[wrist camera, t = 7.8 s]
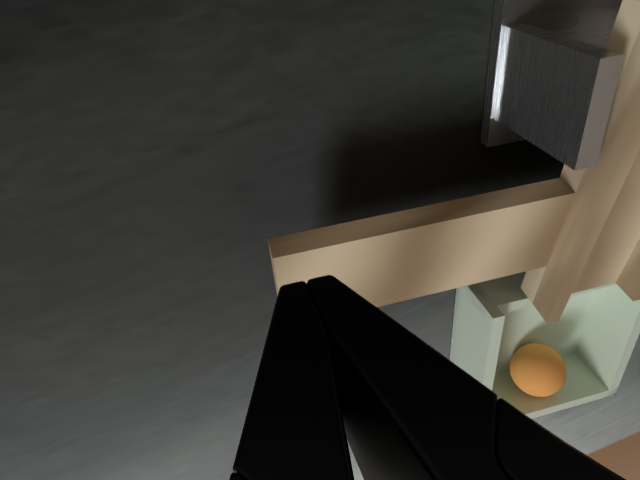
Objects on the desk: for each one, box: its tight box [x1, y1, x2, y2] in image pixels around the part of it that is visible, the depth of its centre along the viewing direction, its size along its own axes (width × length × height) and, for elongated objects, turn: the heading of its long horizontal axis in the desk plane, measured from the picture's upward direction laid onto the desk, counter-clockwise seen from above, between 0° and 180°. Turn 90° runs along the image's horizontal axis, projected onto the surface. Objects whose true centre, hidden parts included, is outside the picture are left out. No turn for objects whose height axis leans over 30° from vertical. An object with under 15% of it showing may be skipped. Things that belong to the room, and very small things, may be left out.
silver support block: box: [480, 0, 625, 171], centre depth 18 cm, size 8×6×6 cm
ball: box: [510, 343, 567, 397], centre depth 28 cm, size 3×3×3 cm
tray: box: [450, 271, 640, 419], centre depth 27 cm, size 9×9×4 cm
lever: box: [268, 0, 640, 323], centre depth 16 cm, size 17×20×5 cm
